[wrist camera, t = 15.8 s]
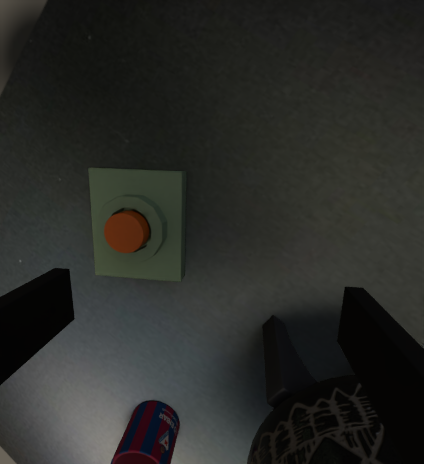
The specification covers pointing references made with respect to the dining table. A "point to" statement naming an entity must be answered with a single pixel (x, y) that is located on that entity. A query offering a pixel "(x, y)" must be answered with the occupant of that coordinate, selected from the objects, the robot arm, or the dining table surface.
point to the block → (155, 213)
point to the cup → (149, 435)
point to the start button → (126, 231)
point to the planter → (314, 414)
